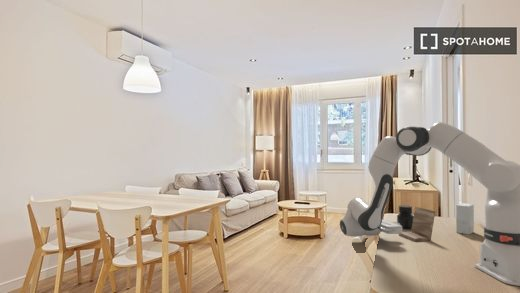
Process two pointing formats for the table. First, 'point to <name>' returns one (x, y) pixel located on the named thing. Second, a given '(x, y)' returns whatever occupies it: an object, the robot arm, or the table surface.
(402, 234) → the laid plank
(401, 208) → the ink bottle
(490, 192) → the robot arm
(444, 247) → the table surface
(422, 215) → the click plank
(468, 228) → the skincare box
